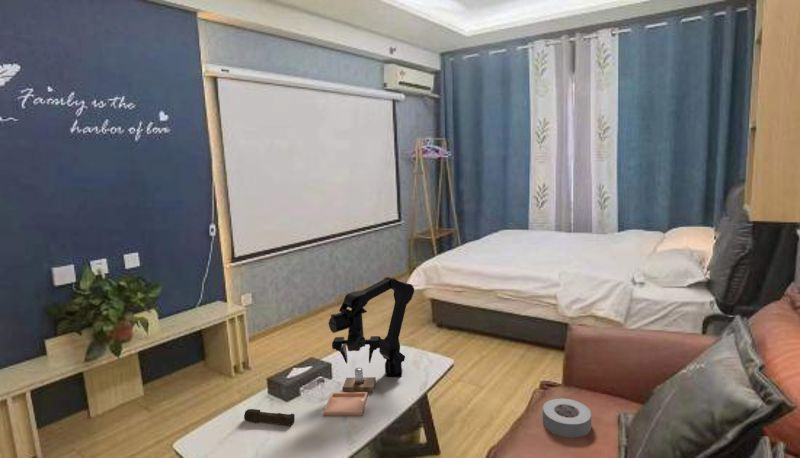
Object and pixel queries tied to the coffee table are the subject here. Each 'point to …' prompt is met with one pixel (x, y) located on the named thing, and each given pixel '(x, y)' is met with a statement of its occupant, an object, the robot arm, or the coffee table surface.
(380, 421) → the coffee table surface
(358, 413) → the terracotta dish
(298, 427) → the coffee table surface
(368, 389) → the clamp block
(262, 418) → the hand tool
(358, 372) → the metal pin
